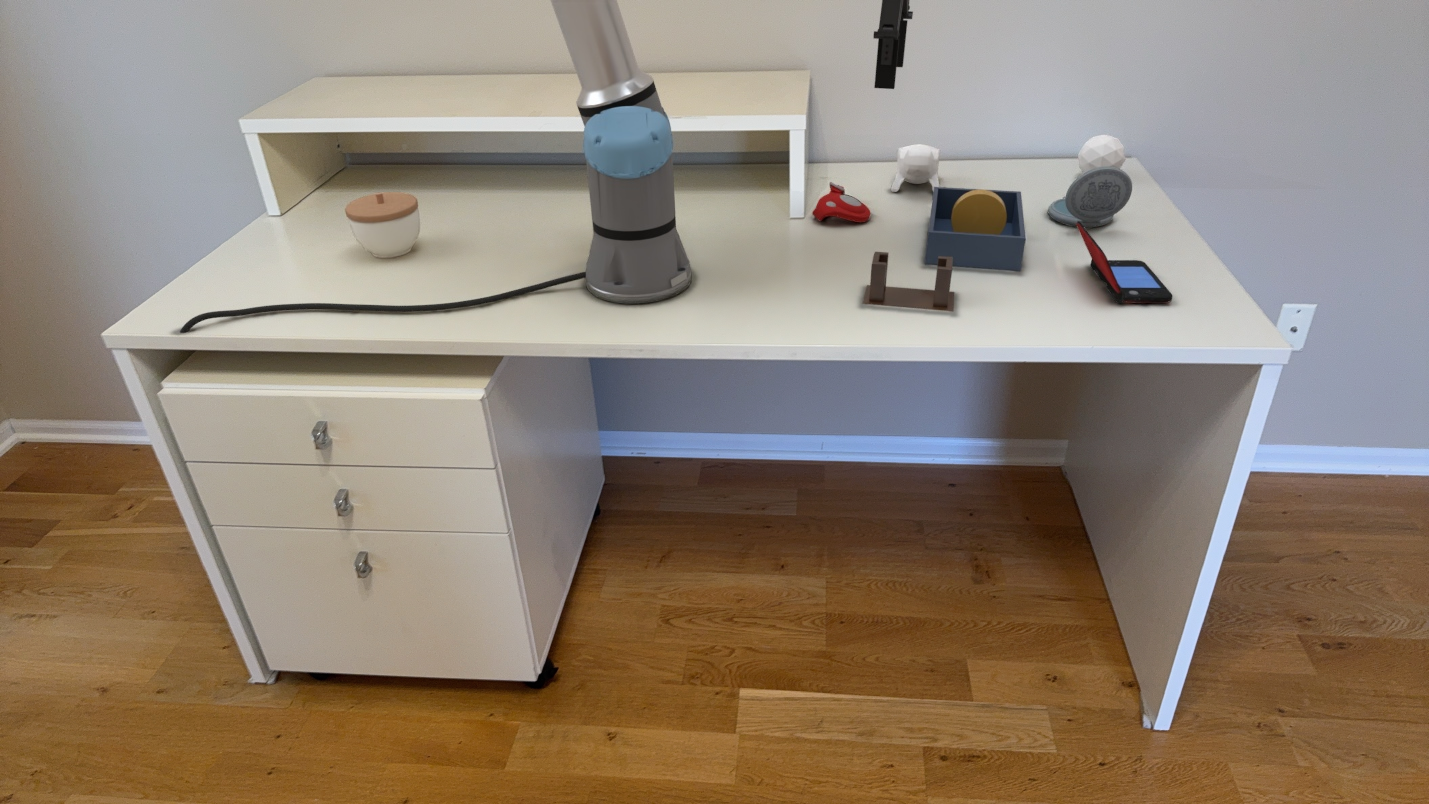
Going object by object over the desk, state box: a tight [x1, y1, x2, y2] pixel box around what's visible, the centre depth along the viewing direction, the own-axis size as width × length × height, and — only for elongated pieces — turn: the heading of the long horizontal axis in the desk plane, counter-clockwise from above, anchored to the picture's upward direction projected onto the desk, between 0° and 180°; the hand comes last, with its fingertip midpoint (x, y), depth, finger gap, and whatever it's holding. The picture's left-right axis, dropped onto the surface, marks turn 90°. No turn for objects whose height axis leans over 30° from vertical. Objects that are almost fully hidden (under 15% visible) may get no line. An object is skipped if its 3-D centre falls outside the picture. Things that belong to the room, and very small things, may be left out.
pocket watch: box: [1047, 167, 1133, 228], centre depth 144 cm, size 10×11×15 cm
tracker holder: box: [811, 181, 871, 223], centre depth 151 cm, size 12×4×10 cm
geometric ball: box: [1077, 133, 1126, 174], centre depth 161 cm, size 8×8×8 cm
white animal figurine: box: [890, 143, 942, 193], centre depth 159 cm, size 8×8×15 cm
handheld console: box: [1077, 221, 1174, 304], centre depth 124 cm, size 12×11×7 cm
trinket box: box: [344, 191, 421, 259], centre depth 141 cm, size 11×11×9 cm
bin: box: [924, 186, 1026, 272], centre depth 138 cm, size 19×13×6 cm
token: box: [951, 188, 1007, 235], centre depth 137 cm, size 2×8×8 cm, turn 76°
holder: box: [861, 251, 955, 312], centre depth 122 cm, size 12×6×6 cm, turn 76°
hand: (889, 77), depth 131 cm, fingers open, 13 cm apart
